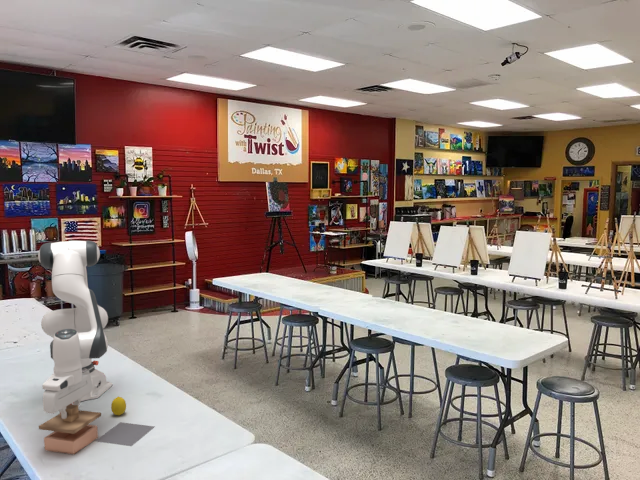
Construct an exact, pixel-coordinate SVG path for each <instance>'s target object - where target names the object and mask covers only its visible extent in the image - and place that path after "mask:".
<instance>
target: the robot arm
mask: <svg viewBox="0 0 640 480" xmlns="http://www.w3.org/2000/svg"><path fill="white" fill-rule="evenodd" d="M37 253H38V254H37V256H38V261H39V263H40V266H41V267H43V268H44V269H48V270H52V271H51V289H52V293H53V294H54V295H55V297H57V298H58V299H59V300H61V301H62V302H63V301H64V303H65V302H66V303H69V304H72V305H74V307H73V308H61V309H55V310H51V311H47V312H46V313H45V314H44V315H43V316H42V319H41V321H40V322H41V324H40V325H41V329H42V331H43V332H44V333H45V334H46V335H47V336H49V337H51V338H53V339H52V341H51V342H50V345H49V350H50V359H52V360H53V363H54V364H53V373H52V374H51V375H50V376H49V377H48V378H47V379H46V380H45V381H44V382H43V384H42V390H44V392H43V394H42V408H43V411H44V412H45V414H51V415H52V414H56V413H57V412H59V414H60V413H61V417H62V419H66V418H67V417H69V412H66V411H65V409H66V406H68V405H70V404H71V403H73V402H74V405H78V411H79V410H80V404H81V402H84V401H89V400H93V399H94V400H95V399H98V398H100V397H101V396H102V395H103V394H104V393H105V392H106V391H108V390H109V389H110V388H111V387H112V386H113V383H112V382H111V381H107V375H106V374H105V373H104V372H102V371H100V370H98V369H96V368H95V366H99V360H94V359H100V358H102V357H103V356H104V355H106V354H107V352H108V347H109V344H108V343H109V342H108V338H107V335H106V333H105V331H104V329H105V328H106V326H107V324H108V323H109V316H108V312H107V310H106V309H105V308H104V307H102V306H101V305H99V304H98V302H97V298H96V295H95V292H94V291H93V290H92V289H90V288H89V284H88V271H87V267H88V268H90V267H93V266H95V265H96V264H97V263H98V261H99V259H100V257H101V252H100V247H99V245H98V244H97V243H96V242H95V241H92V240H68V241H67V240H66V241H65V240H64V241H56V242H52V241H51V242H46V243H43V244H42V245H41V246H40V248H39V250H38V252H37ZM92 359H93V361H92Z"/></svg>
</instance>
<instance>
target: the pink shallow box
mask: <svg viewBox="0 0 640 480" xmlns="http://www.w3.org/2000/svg"><path fill="white" fill-rule="evenodd" d="M98 434H99V433H98V425H96V424H88V425H87V426H85V427H84V428H82V429H80V430H79V431H77V432H76V433H74V434H71V433H64V432H56V431H51V433H50V434H48V435H46V436H44V438H43V439H44V440H43V443H44V451H48V452H54V453H59V454H60V453H62V454H68V455H74V456H75V455H76V454H77V453H79V452H81V450H83V449H85V448H86V447H87V446H88V445H90V444H91V443H93V442H95V440H97V439H98V438H99V436H98Z"/></svg>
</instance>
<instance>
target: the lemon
mask: <svg viewBox="0 0 640 480" xmlns="http://www.w3.org/2000/svg"><path fill="white" fill-rule="evenodd" d="M110 406H111V407H110V408H111V413H112V414H113V415H115V416H121V415H123V414H124V413H125V412H126V409H127V403H126V400H125V398H123V397H121V396H117V397H115V398H113V400H112V402H111V405H110Z"/></svg>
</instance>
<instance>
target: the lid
mask: <svg viewBox="0 0 640 480" xmlns="http://www.w3.org/2000/svg"><path fill="white" fill-rule="evenodd" d="M65 411H66V412H69V417H67V418H66V419H62V417H61V413H60V412H59V413H58V414H57V415H55V416H53V417H52V418H50V419H47V420H46V421H45V422H43V423H41V424H39V425H38V430H41V431H42V430H43V431H50V432H54V431H56V432H64V433H71V434H74V433H76V432H77V431H79V430H80V429H82V428H84V427H85V426H87V425H91V423H93V422H94V421H96V420H97V419H99V418H100V417H102V412H99V411H91V410H83V409H82V410H81V409H79V411H78V405H68V406H66V409H65Z"/></svg>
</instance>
